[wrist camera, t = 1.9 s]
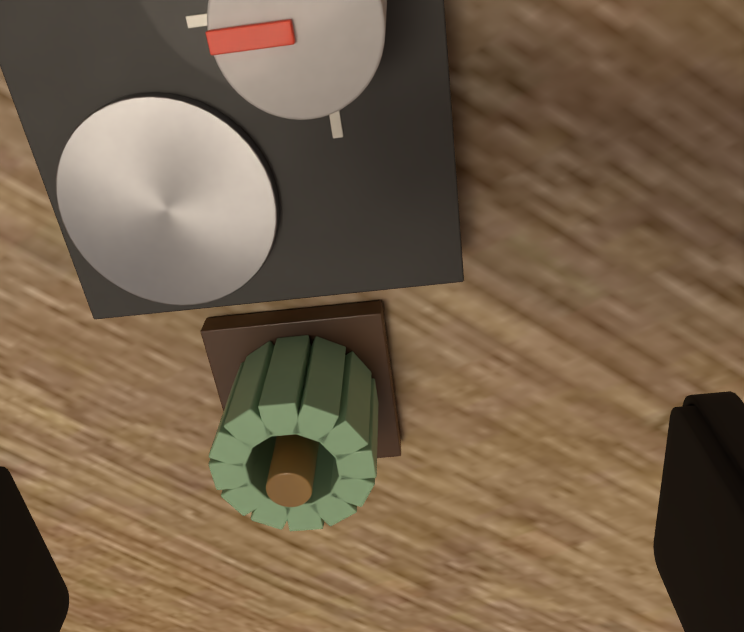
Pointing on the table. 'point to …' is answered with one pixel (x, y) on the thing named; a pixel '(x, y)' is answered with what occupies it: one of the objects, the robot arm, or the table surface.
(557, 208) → the table surface
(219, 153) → the burner
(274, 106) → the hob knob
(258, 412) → the ring
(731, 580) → the robot arm
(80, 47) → the hob
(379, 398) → the peg stand
